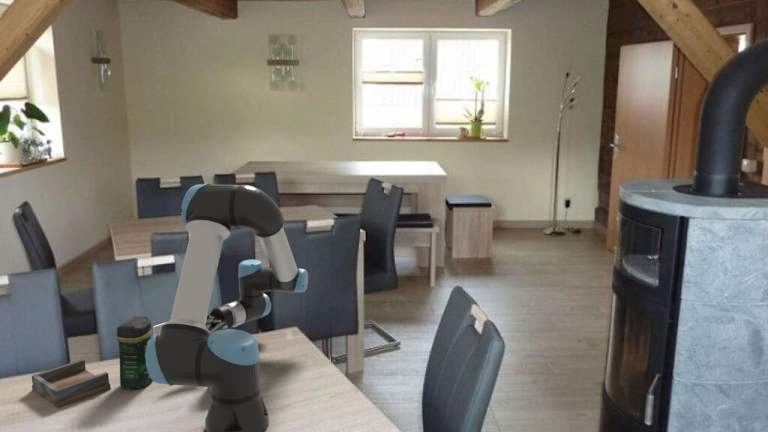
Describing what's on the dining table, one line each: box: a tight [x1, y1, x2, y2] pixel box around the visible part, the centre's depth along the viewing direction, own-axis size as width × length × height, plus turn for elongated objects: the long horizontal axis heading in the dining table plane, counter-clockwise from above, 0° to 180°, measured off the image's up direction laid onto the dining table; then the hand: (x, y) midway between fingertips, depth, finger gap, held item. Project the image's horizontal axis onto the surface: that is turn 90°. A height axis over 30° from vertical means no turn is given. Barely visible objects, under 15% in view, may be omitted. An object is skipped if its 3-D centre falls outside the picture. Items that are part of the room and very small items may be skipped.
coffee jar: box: [116, 315, 153, 390], centre depth 179 cm, size 10×8×19 cm
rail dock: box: [31, 358, 112, 409], centre depth 176 cm, size 16×14×4 cm
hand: (166, 336), depth 186 cm, fingers open, 13 cm apart
